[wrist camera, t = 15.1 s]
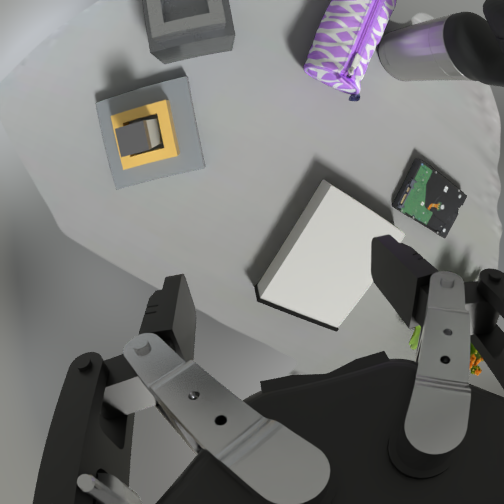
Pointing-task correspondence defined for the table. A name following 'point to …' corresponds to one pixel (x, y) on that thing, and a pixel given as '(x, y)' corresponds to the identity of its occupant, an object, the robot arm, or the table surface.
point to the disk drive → (429, 198)
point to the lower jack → (171, 126)
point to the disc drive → (325, 259)
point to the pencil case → (347, 42)
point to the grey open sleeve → (188, 28)
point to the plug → (138, 137)
